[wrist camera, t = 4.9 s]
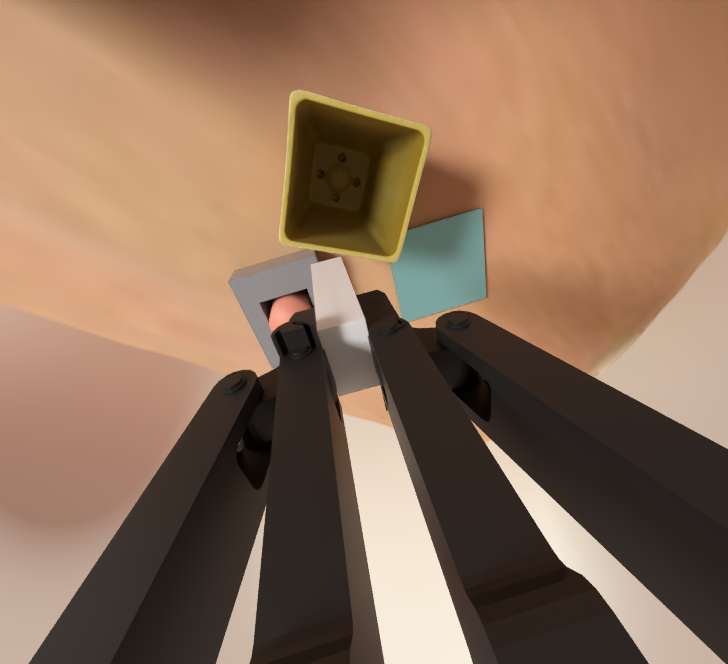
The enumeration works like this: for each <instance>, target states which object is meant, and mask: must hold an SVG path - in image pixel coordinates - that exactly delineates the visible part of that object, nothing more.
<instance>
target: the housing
mask: <svg viewBox="0 0 728 664" xmlns="http://www.w3.org/2000/svg"><path fill="white" fill-rule="evenodd" d="M318 262H319V261H318V258H317V255H316V252H315V250H309V249H306V250H303V251H300V252H296V253H293V254H290V255H286V256H283V257H280V258H276V259H273V260H270V261H266V262H263V263H260V264H256V265H253V266H249V267H246V268H243V269H239V270H236V271H234V272H233V274H232V276H231V277H230V279H229V281H228V283H229V285H230V287H231V289H232V291H233V293H234V295H235V296H236V298H237V300H238V302H239V304H240V306H241V308H242V310H243V312H244V314H245V316H246V318H247V320H248V322H249V324H250V326H251V328H252V330H253V332H254V334H255V336H256V338H257V340H258V341H259V343H260V345H261V347H262V349H263V351H264V353H265V355H266V357H267V359H268V361H269V363H270V365H271V367H272V369H273V368H276V367H278V366H279V362H280V357H279V355H278V353H277V350H276V348H275V346H274V344H273V341H272V339H271V337H270V336H271V334H272V331H271V329H270V326H269V319H270V314H271V308H270V306H269V304H268V301H267V300H270V299H274V298H277V297H280V296H283V295H287V294H290V293H293V292H297V291H300V290H303V289H306V288H307V290H308V293H309V295H310V298H311V301H312V304H313V306H314V307H315V304H314V294H313V284H312V273H311V264H314V263H318Z"/></svg>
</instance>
